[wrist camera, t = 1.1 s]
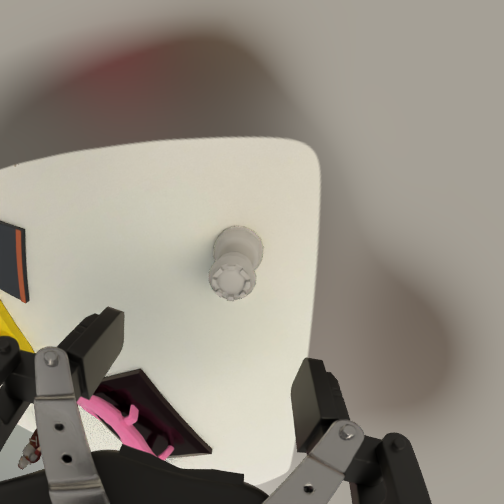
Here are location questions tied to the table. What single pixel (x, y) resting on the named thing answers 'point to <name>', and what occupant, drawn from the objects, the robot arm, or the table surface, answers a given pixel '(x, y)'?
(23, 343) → the crank
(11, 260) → the mat
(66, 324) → the table surface
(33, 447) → the figurine
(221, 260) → the rook chess piece
